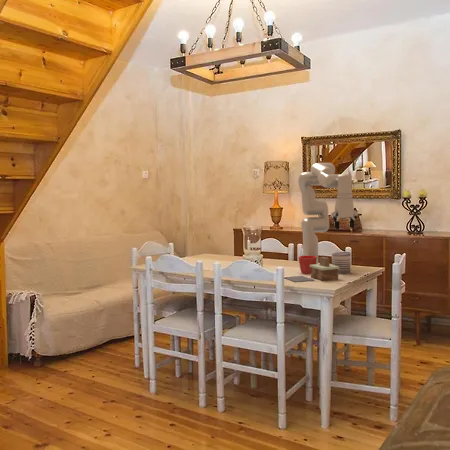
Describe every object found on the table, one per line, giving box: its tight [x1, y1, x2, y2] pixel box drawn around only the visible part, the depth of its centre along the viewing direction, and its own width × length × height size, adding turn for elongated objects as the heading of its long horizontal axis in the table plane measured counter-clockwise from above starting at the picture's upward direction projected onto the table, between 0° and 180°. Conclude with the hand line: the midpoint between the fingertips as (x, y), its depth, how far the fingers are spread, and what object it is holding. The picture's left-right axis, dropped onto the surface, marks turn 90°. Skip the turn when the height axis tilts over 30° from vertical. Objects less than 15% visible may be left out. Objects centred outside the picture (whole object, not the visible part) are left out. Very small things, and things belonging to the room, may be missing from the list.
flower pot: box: [297, 255, 317, 275], centre depth 308 cm, size 11×11×10 cm
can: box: [331, 251, 352, 275], centre depth 307 cm, size 11×11×12 cm
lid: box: [310, 256, 339, 270], centre depth 289 cm, size 13×11×7 cm
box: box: [310, 267, 339, 282], centre depth 289 cm, size 12×10×6 cm
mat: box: [284, 275, 316, 283], centre depth 288 cm, size 14×12×1 cm
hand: (344, 228), depth 285 cm, fingers open, 9 cm apart
